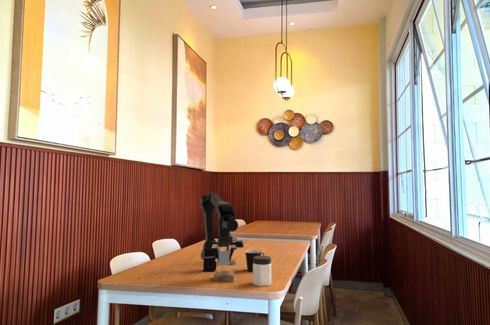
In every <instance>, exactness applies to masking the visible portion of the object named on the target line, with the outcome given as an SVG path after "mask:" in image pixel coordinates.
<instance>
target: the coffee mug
mask: <svg viewBox="0 0 490 325" xmlns="http://www.w3.org/2000/svg"><path fill="white" fill-rule="evenodd" d="M244 253H245V259H246V260H245V261H246V268H247V272H249V273H253V263H254V260H253V258H254V257H255V256H265V254H264V252H262V251H261V250H256V249H254V250H253V249H250V250H245V252H244Z"/></svg>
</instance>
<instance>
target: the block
mask: <svg viewBox="0 0 490 325" xmlns="http://www.w3.org/2000/svg"><path fill="white" fill-rule="evenodd" d="M229 258H230V251H226V250H220V251H219V262H218V266H230V265H229V264H230V262H229Z"/></svg>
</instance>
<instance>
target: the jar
mask: <svg viewBox="0 0 490 325" xmlns="http://www.w3.org/2000/svg"><path fill="white" fill-rule="evenodd" d="M253 260H254V263H253V272H252V285H254V286H258V287H269V286H271V284H272V257H271V256H267V255H264V256H263V255H261V256H255V257H254V258H253Z"/></svg>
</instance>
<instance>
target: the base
mask: <svg viewBox="0 0 490 325" xmlns="http://www.w3.org/2000/svg"><path fill="white" fill-rule="evenodd" d="M234 279H235V271H234V270H215V271H214V275H213V282H215V283H221V282H222V283H233V282H234V281H235V280H234Z"/></svg>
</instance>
